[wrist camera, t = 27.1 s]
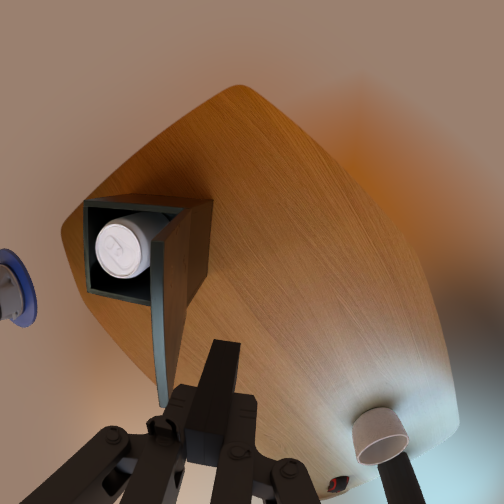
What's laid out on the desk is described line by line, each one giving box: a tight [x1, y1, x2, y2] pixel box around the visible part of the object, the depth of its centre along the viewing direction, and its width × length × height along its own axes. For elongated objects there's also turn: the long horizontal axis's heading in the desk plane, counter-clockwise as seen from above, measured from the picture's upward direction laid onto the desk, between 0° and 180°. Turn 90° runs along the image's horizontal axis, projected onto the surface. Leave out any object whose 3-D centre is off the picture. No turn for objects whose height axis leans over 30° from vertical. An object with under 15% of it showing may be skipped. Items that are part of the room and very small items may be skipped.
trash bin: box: [83, 194, 213, 309], centre depth 38 cm, size 15×13×14 cm
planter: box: [352, 407, 409, 465], centre depth 48 cm, size 12×12×11 cm
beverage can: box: [95, 211, 170, 278], centre depth 38 cm, size 8×8×12 cm
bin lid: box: [150, 208, 192, 408], centre depth 23 cm, size 15×13×1 cm
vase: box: [378, 452, 426, 504], centre depth 44 cm, size 10×10×30 cm
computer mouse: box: [328, 476, 349, 493], centre depth 60 cm, size 6×11×4 cm, turn 0°
